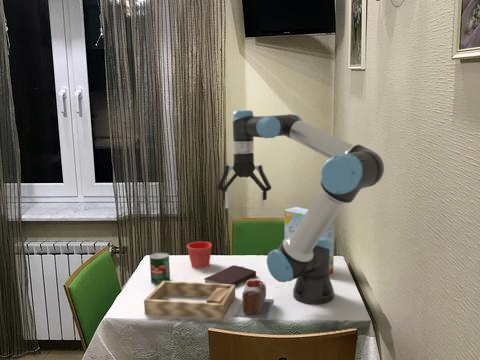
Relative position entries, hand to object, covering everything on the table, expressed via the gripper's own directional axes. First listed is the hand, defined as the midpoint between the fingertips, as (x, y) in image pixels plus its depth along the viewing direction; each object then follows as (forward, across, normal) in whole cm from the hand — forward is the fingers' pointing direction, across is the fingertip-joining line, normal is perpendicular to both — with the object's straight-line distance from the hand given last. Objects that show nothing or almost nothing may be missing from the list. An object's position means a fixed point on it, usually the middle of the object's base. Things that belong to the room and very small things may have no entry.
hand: (244, 208), depth 195 cm
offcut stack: (+33, -7, -17) cm, 38 cm away
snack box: (+33, +22, +28) cm, 49 cm away
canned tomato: (+33, -37, +5) cm, 50 cm away
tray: (+33, -17, -17) cm, 41 cm away
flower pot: (+33, -26, +26) cm, 49 cm away
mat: (+33, +6, -16) cm, 37 cm away
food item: (+32, +6, -16) cm, 37 cm away
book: (+34, -9, +10) cm, 36 cm away
